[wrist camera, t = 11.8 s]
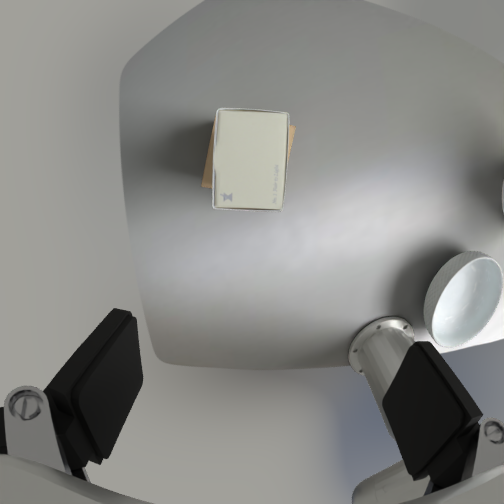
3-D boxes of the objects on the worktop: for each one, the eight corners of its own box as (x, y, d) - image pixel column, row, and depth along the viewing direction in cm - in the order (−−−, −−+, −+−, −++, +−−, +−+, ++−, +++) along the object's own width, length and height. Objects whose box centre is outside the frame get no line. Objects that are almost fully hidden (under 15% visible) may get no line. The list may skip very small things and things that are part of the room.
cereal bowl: (397, 323, 42) (414, 347, 36) (434, 231, 37) (460, 245, 30) (457, 330, 44) (475, 350, 37) (491, 254, 38) (515, 267, 32)
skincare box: (270, 191, 28) (285, 217, 17) (225, 188, 28) (210, 213, 17) (274, 129, 26) (293, 111, 15) (229, 127, 26) (215, 107, 14)
